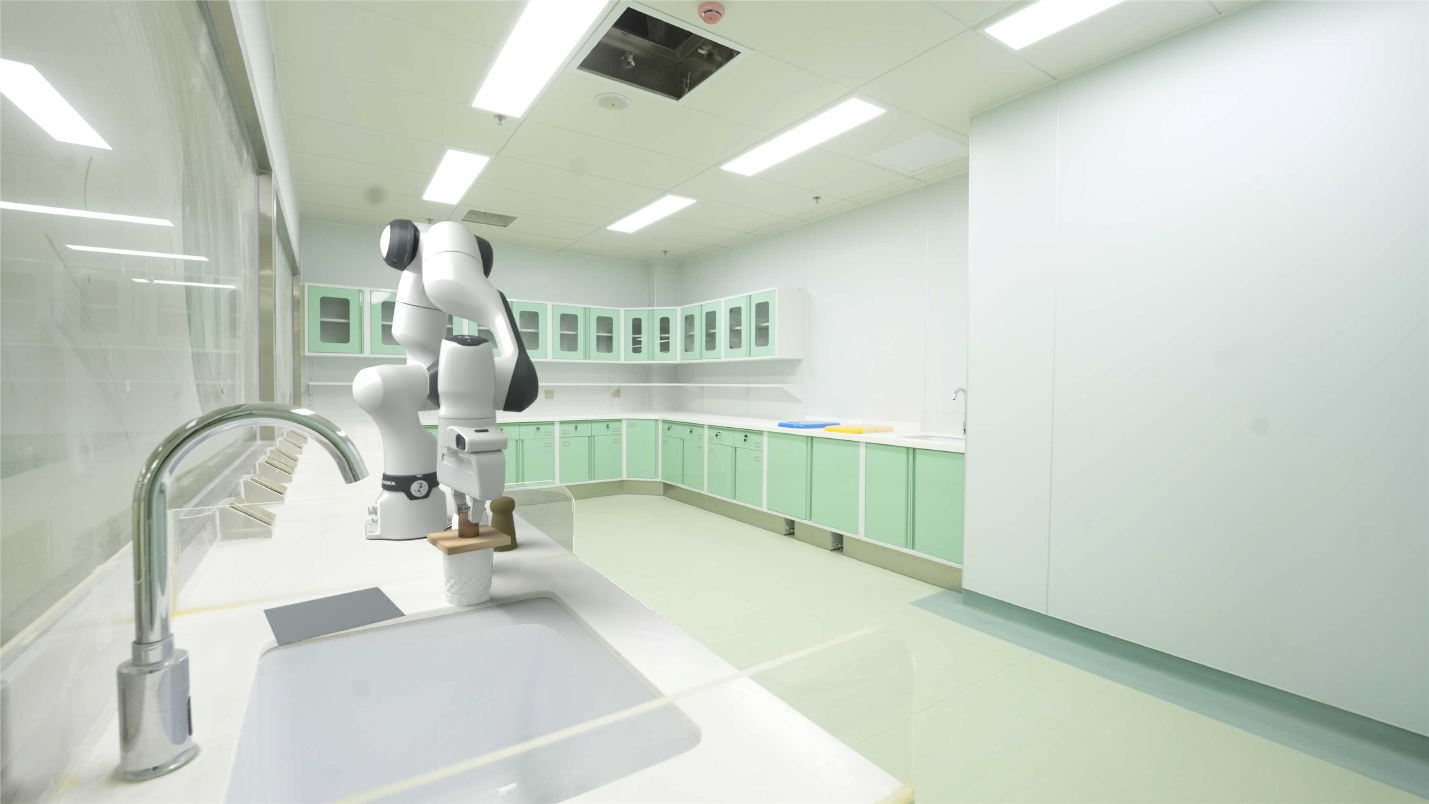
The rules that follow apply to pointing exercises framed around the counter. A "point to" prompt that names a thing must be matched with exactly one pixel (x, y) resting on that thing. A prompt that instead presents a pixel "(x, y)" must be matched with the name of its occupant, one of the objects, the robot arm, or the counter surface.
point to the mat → (330, 615)
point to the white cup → (468, 577)
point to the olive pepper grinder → (504, 520)
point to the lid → (467, 537)
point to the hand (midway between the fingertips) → (468, 518)
